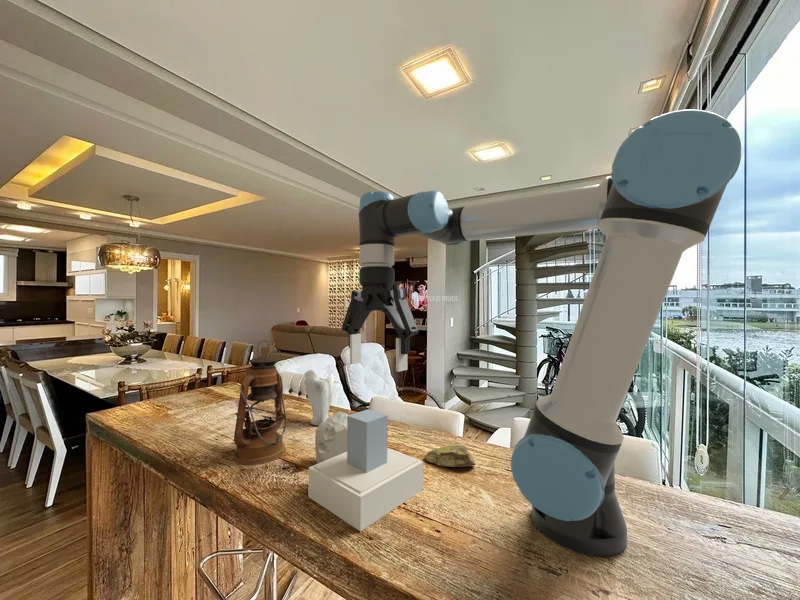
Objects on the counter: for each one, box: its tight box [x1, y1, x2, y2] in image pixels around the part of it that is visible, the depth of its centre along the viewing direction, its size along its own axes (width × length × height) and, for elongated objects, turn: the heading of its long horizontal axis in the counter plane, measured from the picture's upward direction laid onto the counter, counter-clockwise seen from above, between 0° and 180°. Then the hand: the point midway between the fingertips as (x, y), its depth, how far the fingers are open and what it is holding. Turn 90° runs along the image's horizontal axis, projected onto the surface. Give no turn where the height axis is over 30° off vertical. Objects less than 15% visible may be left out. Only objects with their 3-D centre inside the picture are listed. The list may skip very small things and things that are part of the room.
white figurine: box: [303, 369, 335, 426], centre depth 113 cm, size 8×8×18 cm
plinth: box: [307, 447, 424, 532], centre depth 72 cm, size 16×18×6 cm
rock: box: [424, 444, 476, 468], centre depth 87 cm, size 12×7×10 cm
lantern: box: [232, 340, 288, 466], centre depth 90 cm, size 17×13×30 cm
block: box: [347, 409, 389, 473], centre depth 72 cm, size 6×6×10 cm
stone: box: [315, 411, 349, 464], centre depth 87 cm, size 10×5×12 cm, turn 122°
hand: (377, 366), depth 72 cm, fingers open, 13 cm apart
